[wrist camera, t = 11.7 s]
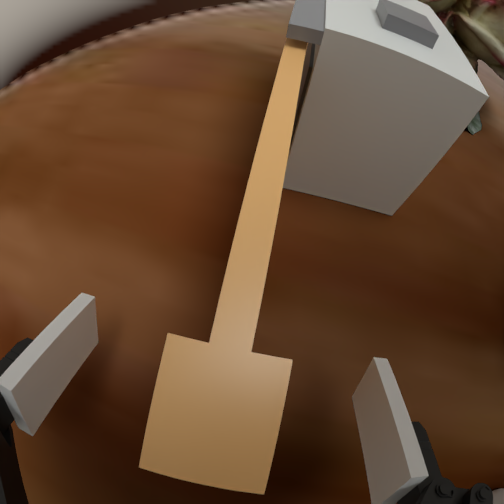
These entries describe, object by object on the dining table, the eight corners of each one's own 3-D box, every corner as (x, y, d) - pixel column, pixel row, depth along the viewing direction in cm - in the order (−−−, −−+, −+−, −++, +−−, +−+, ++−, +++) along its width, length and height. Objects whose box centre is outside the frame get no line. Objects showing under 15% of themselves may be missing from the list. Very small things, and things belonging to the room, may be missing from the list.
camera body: (391, 215, 23) (497, 84, 10) (258, 182, 23) (293, 1, 10) (380, 99, 29) (429, -6, 16) (284, 72, 29) (309, -47, 16)
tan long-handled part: (240, 431, 15) (263, 494, 6) (185, 419, 15) (138, 467, 6) (291, 165, 22) (326, 46, 13) (249, 156, 22) (266, 33, 13)
